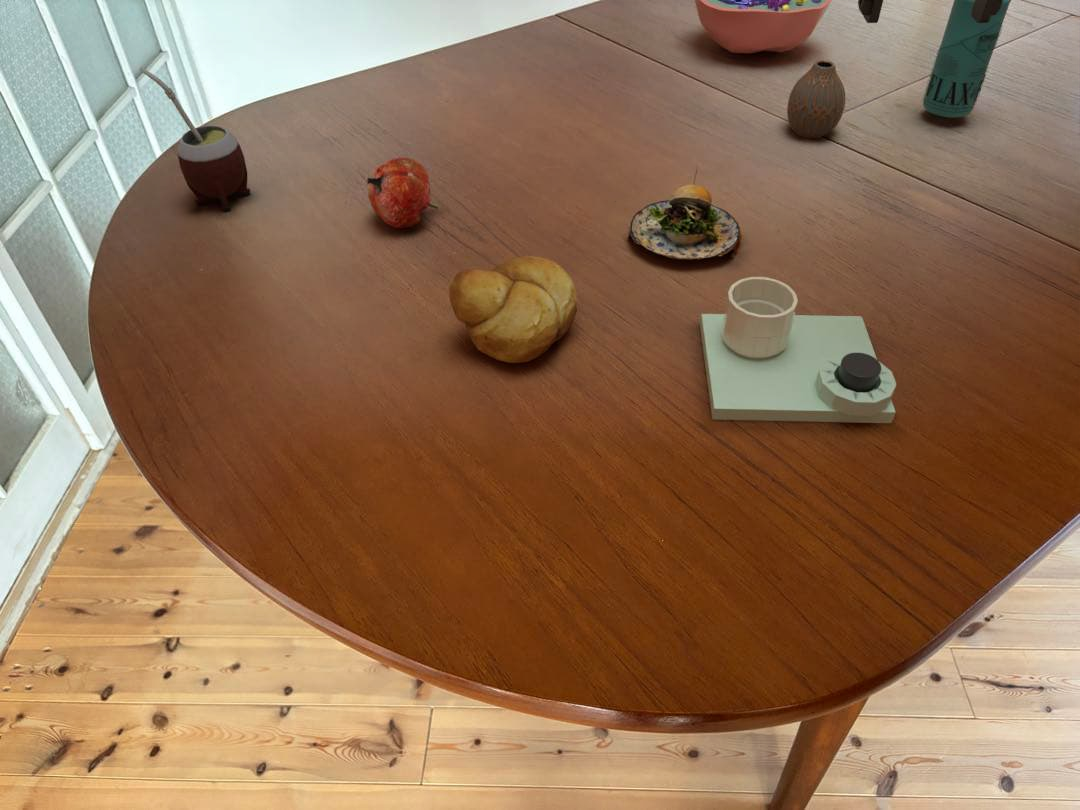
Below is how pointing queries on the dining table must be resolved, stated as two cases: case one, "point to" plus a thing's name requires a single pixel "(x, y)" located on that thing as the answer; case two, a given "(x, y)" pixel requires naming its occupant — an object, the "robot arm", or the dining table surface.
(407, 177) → the pomegranate
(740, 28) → the cell model
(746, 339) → the cup
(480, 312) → the bread roll
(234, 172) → the mate gourd
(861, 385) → the button
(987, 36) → the beverage bottle
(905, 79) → the dining table surface
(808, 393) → the scale
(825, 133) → the vase
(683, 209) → the burger
